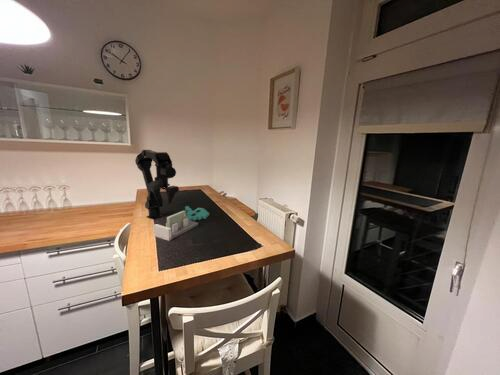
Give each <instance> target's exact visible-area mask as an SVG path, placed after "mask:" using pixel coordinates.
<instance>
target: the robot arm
mask: <svg viewBox="0 0 500 375" xmlns="http://www.w3.org/2000/svg"><path fill="white" fill-rule="evenodd" d="M134 162H135V165H136V166H137V169H138V170H140V172H141V173H142V177H143V180H144V183H145V187H146V190H147V191H146V192H147V196H146V201H145V204H144V207H145V209H147V211H148V215H147V216H146V218H148V219H151V220H155V219H159V218H161V217H163V215H162V214H161V210H160V209H161V208H162V207H163V204H164V203H163V202H164V200H163V197H162V194H161V190H165V194H166V195H167V202H168V204H171V203H172V201H173V199H174V197H175V195H176V193H178V192H180V188H179V186H176V185H171V184H170V183H169V179H173V178H175V176H176V174H177V170H176V169H175V168H174V167H173V160H172V159H171V156H170V155H169V153H168V152H166V151H160V152H159V151H158V152H157V151H153V150H152V149H143V150H141V152H139V153H138V155H137V156H136V157H135V161H134ZM152 163H155V164H154V167H155V168H156V169H155V171H156V176H154V178H153V175H152V171H151V168H152Z"/></svg>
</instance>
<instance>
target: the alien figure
mask: <svg viewBox="0 0 500 375" xmlns="http://www.w3.org/2000/svg"><path fill="white" fill-rule="evenodd" d="M184 211H186V218H188V220H189V221H194V222H196V221H197V220H201V219H205V220H206V219H207V218H208V217H209V216H210V212H208V210H207V209H205V207H204V208H203V207H197V208H196V209H194V210H193V208H191V207H190V206H188V205H186V206H184Z"/></svg>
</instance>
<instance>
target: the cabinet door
mask: <svg viewBox="0 0 500 375" xmlns="http://www.w3.org/2000/svg"><path fill="white" fill-rule="evenodd" d="M186 213H187V211H186V210H182V211H179V212H176V213H174V214H172V215H169V216H166V223H167V227H168V228H171V232H172V225H173V224H175V223H178V228H180V227H182V226H183V220H184V219H186Z"/></svg>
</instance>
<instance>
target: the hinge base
mask: <svg viewBox="0 0 500 375" xmlns="http://www.w3.org/2000/svg"><path fill="white" fill-rule="evenodd" d="M197 226H199V222H196V221H194V220H192V221H189V220H188V218H186V219H184V220H183V226H182V227H180V228H178V223H175V224H173V225H172V232H171V228H168V227H167V222H166V223H165V226H164V225H161V224H157V223H156V224H153V234H154V237H156V238H159V239H162V240H165V241H168V242H169V241H171V240H174V239H176V238H178V237H179V236H180V235H182V234H185V233H186V232H188V231H190V230H192V229H194V228H196V227H197Z"/></svg>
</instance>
